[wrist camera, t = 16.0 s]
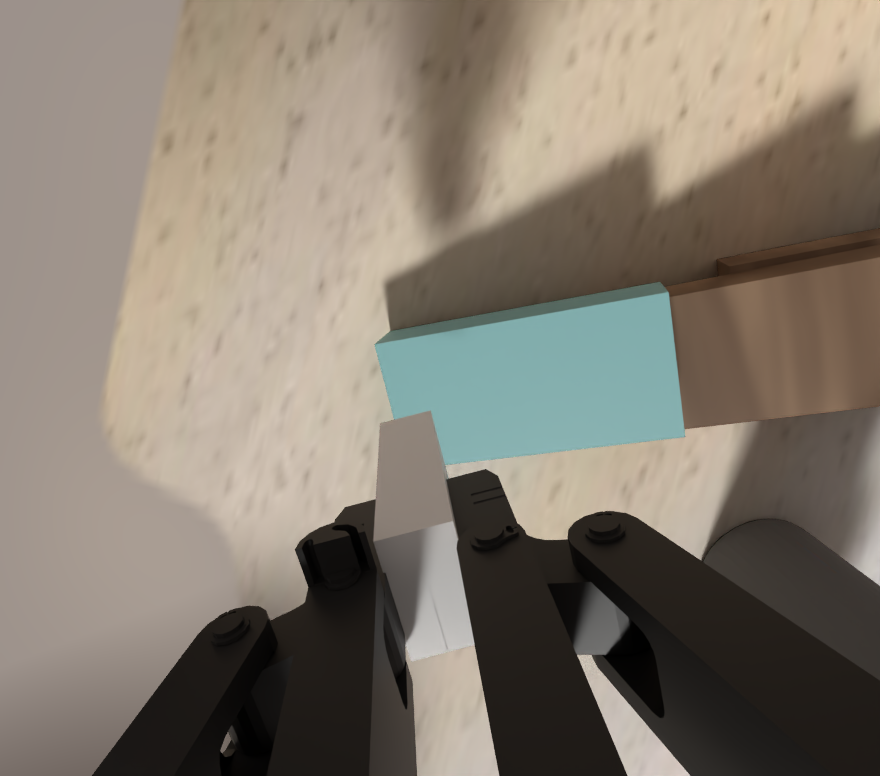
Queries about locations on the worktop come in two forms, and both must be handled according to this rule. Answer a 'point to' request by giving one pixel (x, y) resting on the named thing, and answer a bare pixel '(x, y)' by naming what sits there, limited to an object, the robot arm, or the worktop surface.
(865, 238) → the tile
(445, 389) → the tile
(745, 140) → the worktop surface
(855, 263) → the tile
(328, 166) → the worktop surface
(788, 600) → the bottle
